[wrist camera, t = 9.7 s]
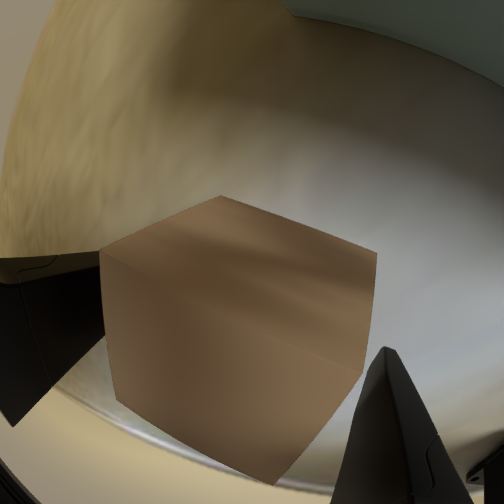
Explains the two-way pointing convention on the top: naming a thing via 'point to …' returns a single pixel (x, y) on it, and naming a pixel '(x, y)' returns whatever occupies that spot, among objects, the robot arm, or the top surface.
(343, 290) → the walnut cube
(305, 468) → the top surface
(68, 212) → the top surface
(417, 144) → the top surface
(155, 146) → the top surface
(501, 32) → the tote
